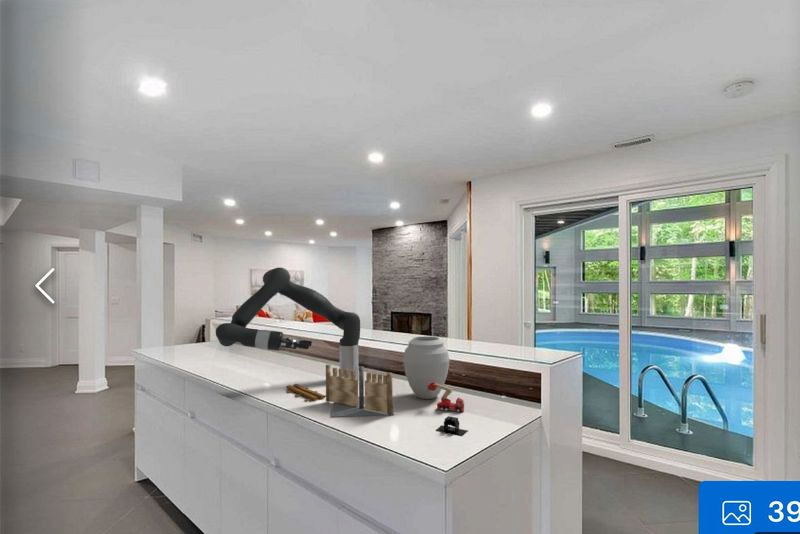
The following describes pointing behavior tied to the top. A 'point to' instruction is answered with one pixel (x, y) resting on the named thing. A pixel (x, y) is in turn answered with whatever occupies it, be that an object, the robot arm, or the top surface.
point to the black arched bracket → (451, 430)
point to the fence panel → (341, 387)
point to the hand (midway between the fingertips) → (310, 345)
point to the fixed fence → (376, 392)
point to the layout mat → (354, 411)
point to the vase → (426, 365)
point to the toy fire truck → (445, 401)
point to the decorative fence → (305, 392)
